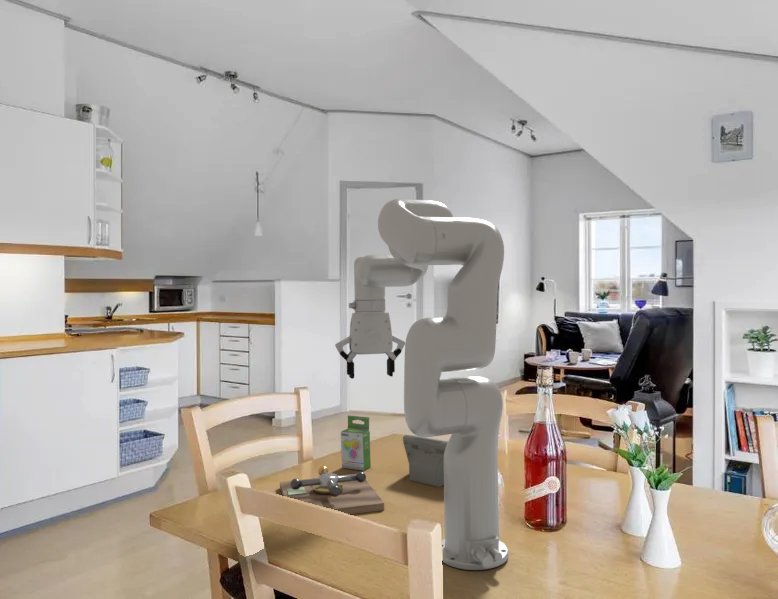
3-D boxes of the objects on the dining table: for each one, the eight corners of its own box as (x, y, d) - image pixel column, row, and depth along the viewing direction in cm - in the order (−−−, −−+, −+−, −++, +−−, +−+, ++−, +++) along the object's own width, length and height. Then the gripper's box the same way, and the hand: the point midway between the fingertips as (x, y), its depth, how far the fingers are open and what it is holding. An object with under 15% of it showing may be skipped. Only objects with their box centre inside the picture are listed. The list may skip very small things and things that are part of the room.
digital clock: (468, 483, 146) (468, 439, 146) (442, 492, 140) (441, 446, 140) (423, 469, 159) (422, 428, 158) (397, 476, 153) (396, 434, 153)
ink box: (340, 468, 161) (339, 417, 160) (349, 464, 164) (347, 415, 164) (363, 471, 157) (362, 420, 157) (371, 467, 161) (369, 417, 160)
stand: (384, 509, 130) (384, 502, 130) (290, 521, 124) (290, 513, 124) (360, 479, 151) (360, 472, 151) (280, 488, 145) (279, 481, 145)
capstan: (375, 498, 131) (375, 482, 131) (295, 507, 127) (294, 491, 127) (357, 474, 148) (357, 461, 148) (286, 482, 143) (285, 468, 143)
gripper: (337, 308, 142) (338, 381, 143) (408, 307, 146) (408, 377, 147) (332, 307, 149) (333, 376, 150) (400, 305, 153) (400, 372, 154)
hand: (370, 376), depth 148 cm, fingers open, 9 cm apart
